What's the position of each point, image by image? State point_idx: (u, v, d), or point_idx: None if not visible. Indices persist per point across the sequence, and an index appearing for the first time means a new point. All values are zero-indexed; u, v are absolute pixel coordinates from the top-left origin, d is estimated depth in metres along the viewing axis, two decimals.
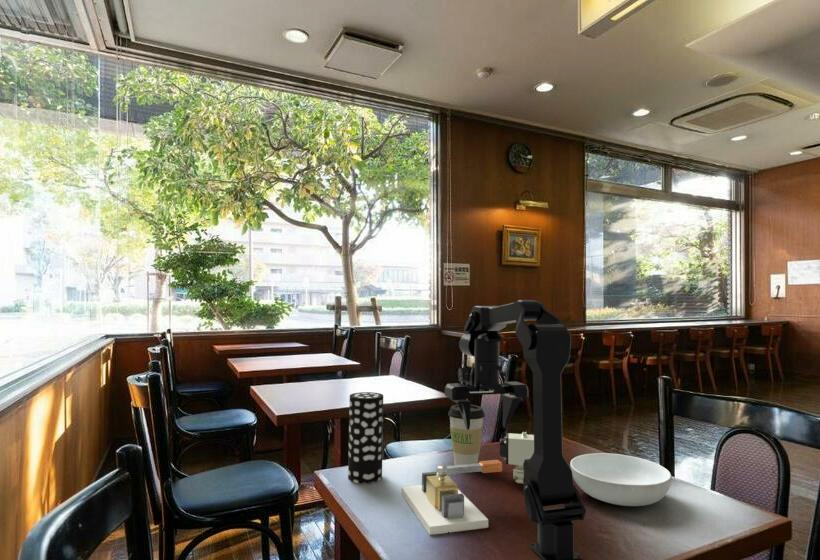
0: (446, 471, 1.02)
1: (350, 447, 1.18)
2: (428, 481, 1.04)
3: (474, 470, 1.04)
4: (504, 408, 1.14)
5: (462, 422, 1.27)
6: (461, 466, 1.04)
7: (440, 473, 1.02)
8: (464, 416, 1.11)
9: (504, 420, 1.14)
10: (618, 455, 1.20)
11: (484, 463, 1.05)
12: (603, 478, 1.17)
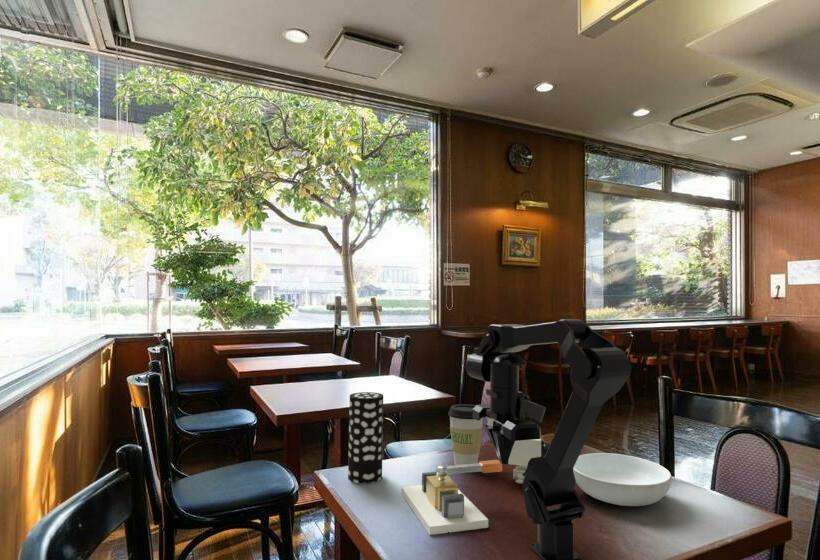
0: (446, 471, 1.02)
1: (350, 447, 1.18)
2: (428, 481, 1.04)
3: (474, 470, 1.04)
4: None
5: (462, 422, 1.27)
6: (461, 466, 1.04)
7: (440, 473, 1.02)
8: None
9: None
10: (618, 455, 1.20)
11: (484, 463, 1.05)
12: (603, 478, 1.17)
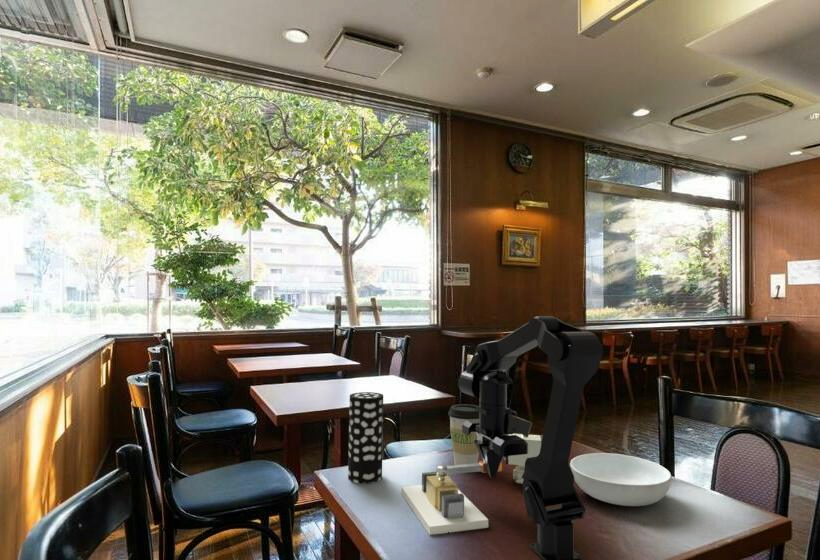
0: (446, 471, 1.02)
1: (350, 447, 1.18)
2: (428, 481, 1.04)
3: (474, 470, 1.04)
4: None
5: (462, 422, 1.27)
6: (461, 466, 1.04)
7: (440, 473, 1.02)
8: None
9: None
10: (618, 455, 1.20)
11: None
12: (603, 478, 1.17)
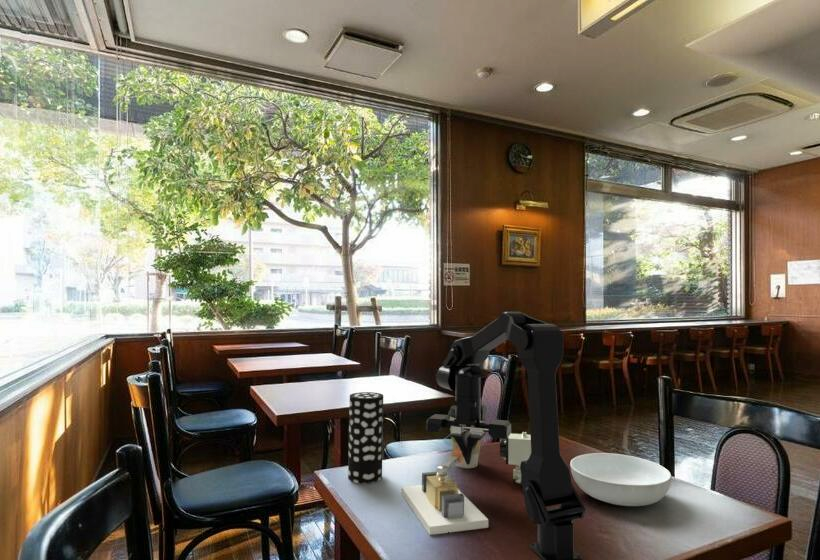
0: (446, 469, 1.03)
1: (350, 447, 1.18)
2: (428, 481, 1.04)
3: (456, 462, 1.09)
4: None
5: None
6: (450, 461, 1.07)
7: (445, 473, 1.02)
8: None
9: None
10: (618, 455, 1.20)
11: (458, 453, 1.11)
12: (603, 478, 1.17)
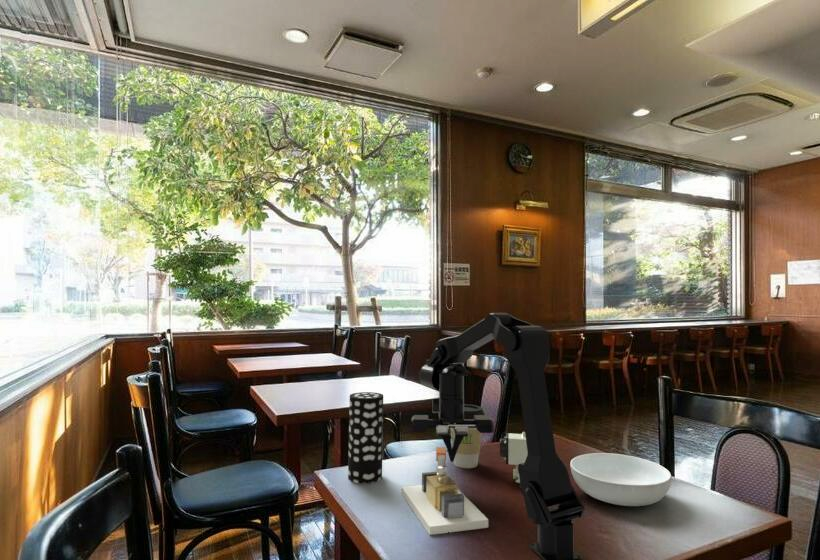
0: None
1: (350, 447, 1.18)
2: (428, 481, 1.04)
3: None
4: (452, 442, 1.14)
5: None
6: (442, 460, 1.07)
7: (446, 473, 1.02)
8: None
9: None
10: (618, 455, 1.20)
11: (443, 452, 1.12)
12: (603, 478, 1.17)
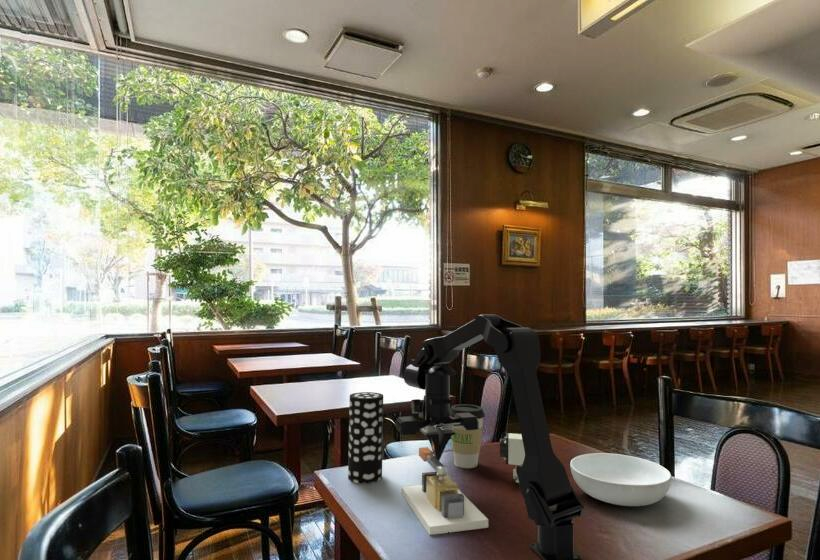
0: None
1: (350, 447, 1.18)
2: (428, 481, 1.04)
3: None
4: None
5: None
6: (436, 460, 1.07)
7: None
8: (433, 448, 1.13)
9: None
10: (618, 455, 1.20)
11: (430, 452, 1.12)
12: (603, 478, 1.17)
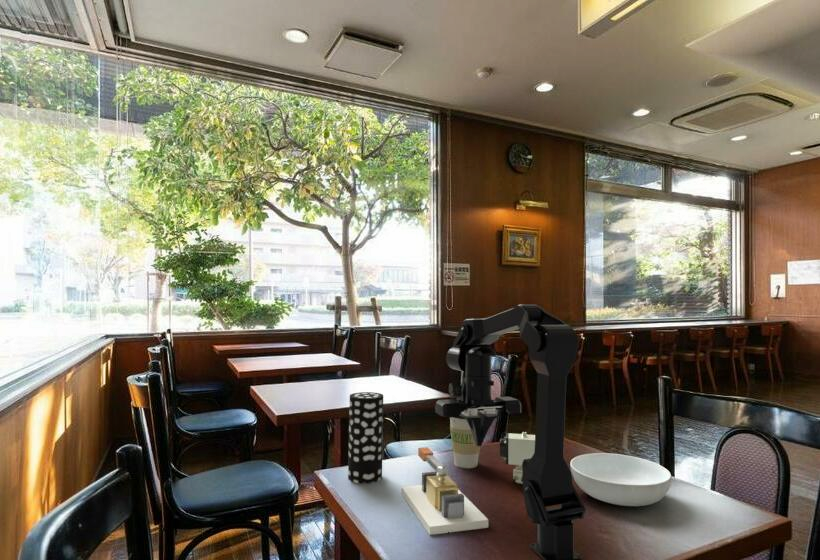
0: None
1: (350, 447, 1.18)
2: (428, 481, 1.04)
3: None
4: None
5: (462, 422, 1.27)
6: (436, 460, 1.07)
7: None
8: (474, 432, 1.08)
9: None
10: (618, 455, 1.20)
11: (430, 452, 1.12)
12: (603, 478, 1.17)
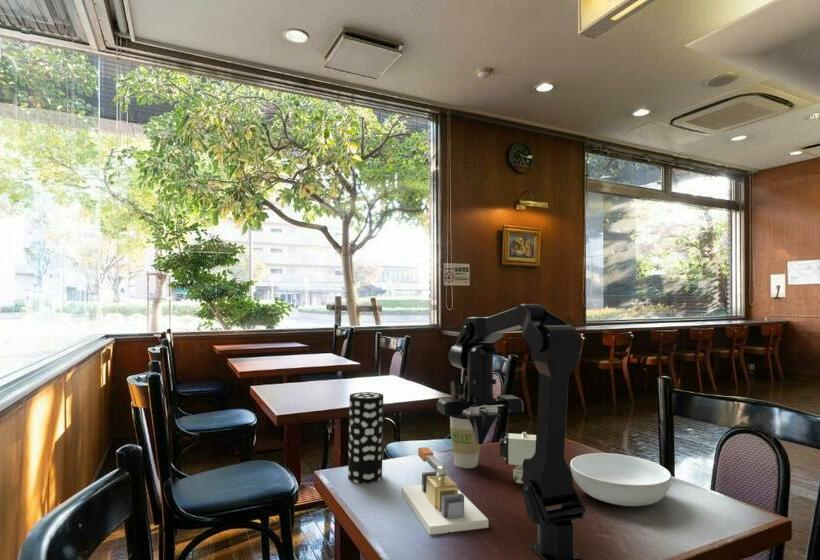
0: None
1: (350, 447, 1.18)
2: (428, 481, 1.04)
3: None
4: None
5: (462, 422, 1.27)
6: (436, 460, 1.07)
7: None
8: (476, 431, 1.08)
9: None
10: (618, 455, 1.20)
11: (430, 452, 1.12)
12: (603, 478, 1.17)
